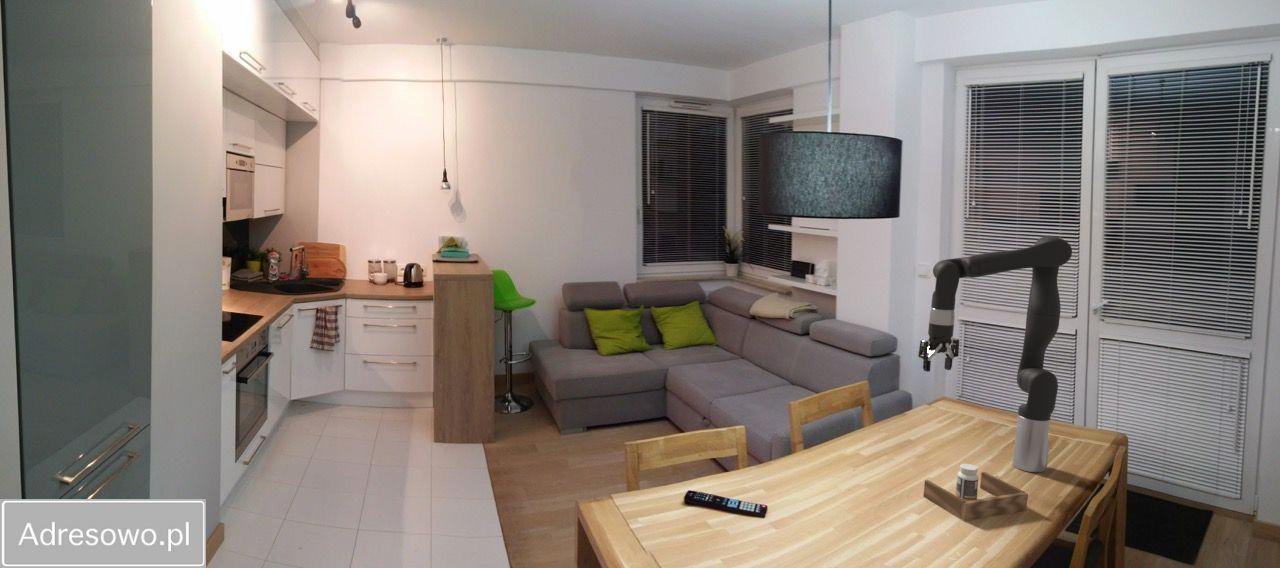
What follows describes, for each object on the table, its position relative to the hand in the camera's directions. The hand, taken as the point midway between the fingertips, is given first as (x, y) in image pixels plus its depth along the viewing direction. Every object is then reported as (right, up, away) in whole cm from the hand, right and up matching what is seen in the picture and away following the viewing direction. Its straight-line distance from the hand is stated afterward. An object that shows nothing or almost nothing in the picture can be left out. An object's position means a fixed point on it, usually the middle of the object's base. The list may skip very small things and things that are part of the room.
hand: (937, 370), depth 239 cm
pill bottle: (-2, -35, -26) cm, 44 cm away
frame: (-2, -35, -28) cm, 45 cm away
